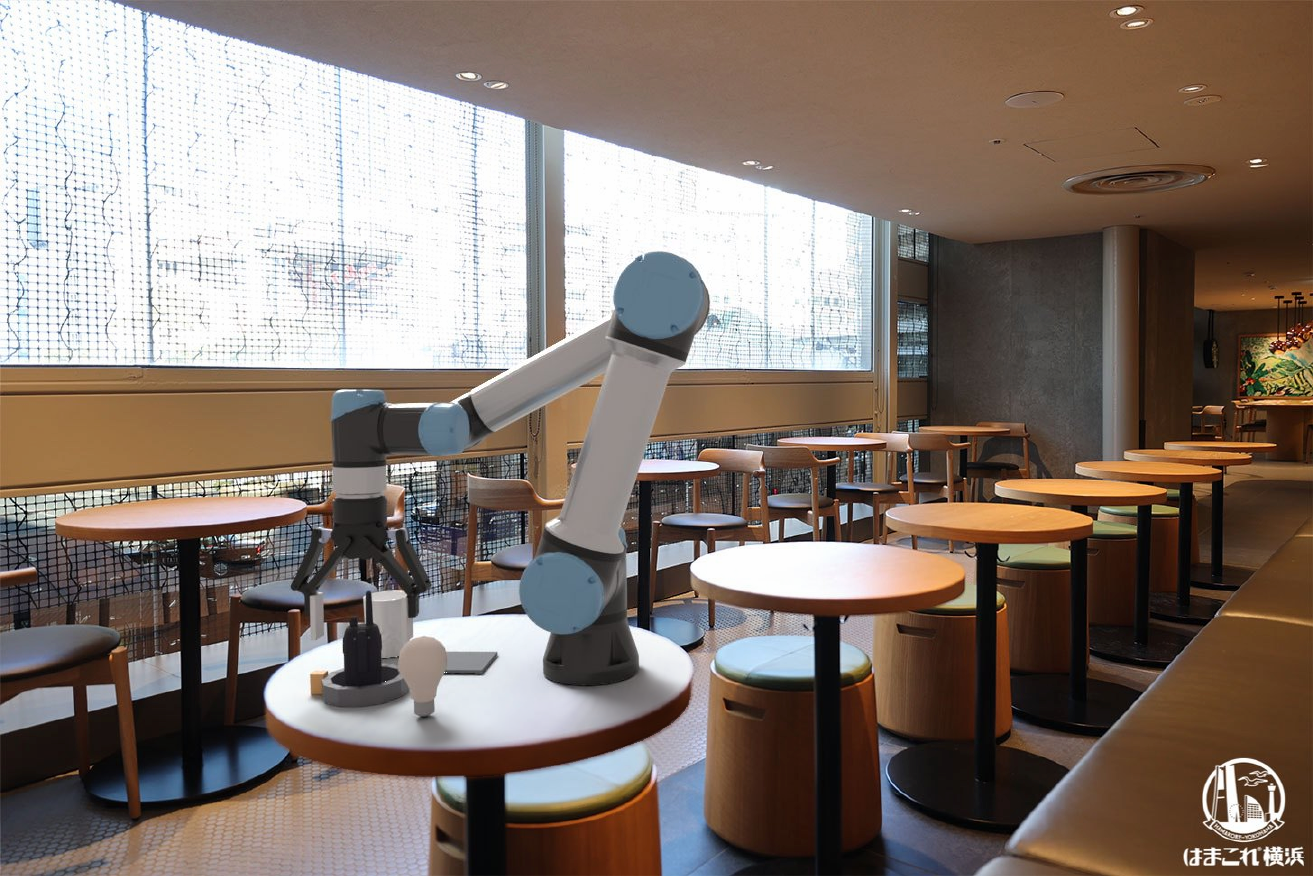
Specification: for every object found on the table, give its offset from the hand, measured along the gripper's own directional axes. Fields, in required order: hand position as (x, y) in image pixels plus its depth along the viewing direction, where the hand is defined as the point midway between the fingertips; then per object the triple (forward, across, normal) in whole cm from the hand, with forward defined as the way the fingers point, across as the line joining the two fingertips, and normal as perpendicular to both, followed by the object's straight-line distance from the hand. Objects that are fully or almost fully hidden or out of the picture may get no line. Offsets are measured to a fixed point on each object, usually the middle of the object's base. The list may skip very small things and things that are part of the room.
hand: (362, 638), depth 129 cm
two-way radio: (+8, 0, 0) cm, 8 cm away
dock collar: (+8, +1, 0) cm, 8 cm away
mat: (+8, -10, -14) cm, 19 cm away
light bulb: (+8, -12, +10) cm, 18 cm away
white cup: (+8, +4, -20) cm, 22 cm away
